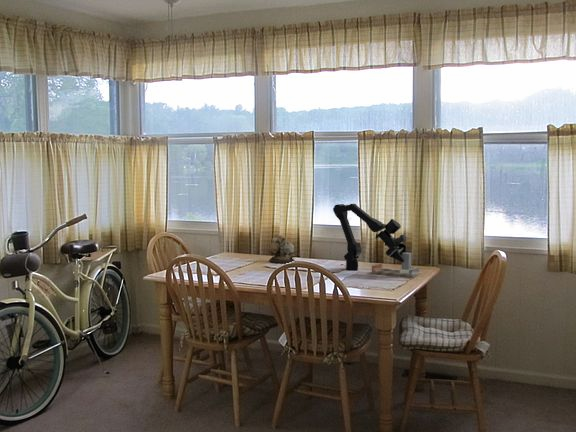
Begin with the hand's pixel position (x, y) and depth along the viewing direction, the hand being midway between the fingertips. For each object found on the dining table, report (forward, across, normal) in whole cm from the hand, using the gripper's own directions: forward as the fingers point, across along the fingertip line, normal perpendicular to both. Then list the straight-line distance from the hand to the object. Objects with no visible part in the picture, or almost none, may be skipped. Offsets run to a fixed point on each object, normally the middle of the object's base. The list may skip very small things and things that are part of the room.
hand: (406, 260), depth 326 cm
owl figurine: (-52, -1, +63) cm, 82 cm away
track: (+1, 0, +10) cm, 11 cm away
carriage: (+5, 0, +5) cm, 7 cm away
